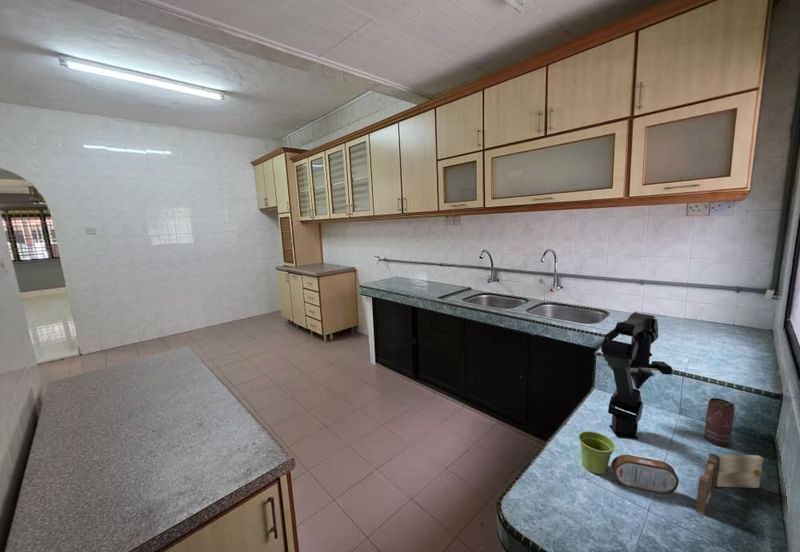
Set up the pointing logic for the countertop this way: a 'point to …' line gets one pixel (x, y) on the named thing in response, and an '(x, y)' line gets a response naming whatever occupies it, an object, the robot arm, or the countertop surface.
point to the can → (719, 422)
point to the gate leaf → (738, 470)
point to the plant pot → (595, 451)
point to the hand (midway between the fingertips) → (637, 388)
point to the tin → (644, 474)
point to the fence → (706, 485)
